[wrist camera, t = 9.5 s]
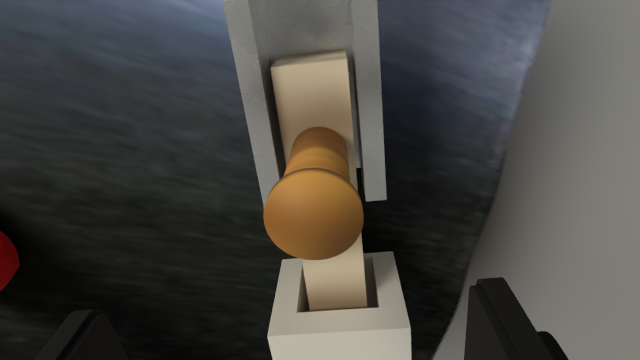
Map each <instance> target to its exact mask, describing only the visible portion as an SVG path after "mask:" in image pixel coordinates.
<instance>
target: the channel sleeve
mask: <svg viewBox="0 0 640 360" xmlns="http://www.w3.org/2000/svg"><path fill="white" fill-rule="evenodd" d="M223 4H224V9H225V14H226V19H227V25H228V30H229V35H230V40H231V45H232V50H233V55H234V60H235V65H236V70H237V75H238V80H239V85H240V90H241V95H242V100H243V105H244V110H245V115H246V120H247V125H248V130H249V135H250V140H251V145H252V150H253V155H254V160H255V165H256V170H257V175H258V180H259V185H260V190H261V195H262V200H263V205H264V208H265V204H266V201H267V198H268V195H269V193H270V191H271V189H272V188H273V186H274V185H275V184H276V183H277V182H278V181H279V180H280V179H281V178H282V177H284V174H285V170H286V161H285V155H284V148H283V142H282V136H281V130H280V124H279V118H278V112H277V106H276V99H275V93H274V87H273V81H272V75H271V69H270V68H271V66H272V65H273V64H274V63H275V62H276V61H277V60H278V59H279V58H280V57H286V56H295V55H304V54H312V53H321V52H330V51H338V50H345V52H346V57H347V65H348V77H349V89H350V101H351V114H352V126H353V138H354V150H355V163H356V168H361V174H362V181H363V187H364V193H365V199H366V201H377V200H387V198H386V176H385V155H384V134H383V113H382V92H381V71H380V49H379V28H378V7H377V0H223Z"/></svg>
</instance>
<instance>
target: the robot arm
mask: <svg viewBox="0 0 640 360" xmlns="http://www.w3.org/2000/svg"><path fill="white" fill-rule="evenodd" d="M34 360H129V359H128V357H127V355H126V353H125V351H124V349H123V347H122V345H121V343H120V341H119V339H118V336H117V334H116V332H115V330H114V328H113V326H112V324H111V322H110V320H109V318H108V317H107V315H105V314H103V313H102V312H101V311H100V310H98V309H91V310H78V311H74V312H72V313H71V314H70V315H69V316H68V317H67V318H66V319H65V321H64V322H63V323H62V325H61V326H60V327H59V328H58V330H57V331H56V332H55V334H54V335H53V336H52V337H51V339H50V340H49V341H48V342H47V344H46V345H45V346H44V348H43V349H42V350H41V351H40V353H39V354H38V355H37V357H36V358H35V359H34ZM464 360H568V358H567V356H566V355H565V353H564V352H563V350H562V349H561V347H560V346H559V344H558V343H557V341H556V340H555V339H554V338H553V336H552V335H551V334H550V333H548V332H545V331H541V332H537V331H536V330H535V328H534V326H533V325H532V323H531V322H530V320H529V318H528V317H527V315H526V313H525V312H524V310H523V308H522V307H521V305H520V303H519V302H518V300H517V299H516V297H515V295H514V294H513V292H512V291H511V289H510V287H509V286H508V284H507V282H506V281H505V279H504V278H502V277H500V278H487V279H478V280H477V283H476V285H475V286H470V289H469V301H468V314H467V327H466V341H465V354H464Z"/></svg>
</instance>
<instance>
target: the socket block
mask: <svg viewBox="0 0 640 360" xmlns="http://www.w3.org/2000/svg"><path fill="white" fill-rule="evenodd" d="M363 261H364V273H365V285H366V297H367V308H362V309H346V310H331V311H315V312H310V308H309V301H308V295H307V289H306V283H305V277H304V271H303V265H302V259H301V258H296V259H283V260H282V264H281V269H280V274H279V279H278V285H277V290H276V295H275V300H274V305H273V310H272V315H271V320H270V325H269V331H268V336H267V337H268V341H269V346H270V350H271V354H272V358H273V360H411V327H410V323H409V318H408V314H407V310H406V306H405V301H404V297H403V293H402V289H401V284H400V280H399V276H398V272H397V267H396V263H395V259H394V255H393V251H390V252H376V253H363Z"/></svg>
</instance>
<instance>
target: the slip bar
mask: <svg viewBox="0 0 640 360" xmlns="http://www.w3.org/2000/svg"><path fill="white" fill-rule="evenodd" d="M270 69H271V75H272V81H273V87H274V93H275V99H276V106H277V112H278V118H279V124H280V130H281V136H282V142H283V148H284V155H285V161H286V170H285V174H284V177H282V178H281V179H280V180H279V181H278V182H277V183H276V184H275V185H274V186H273V188H272V189H271V191H270V193H269V195H268V198H267V201H266V204H265V208H264V224H265V228H266V230H267V233H268V235H269V236H270V238H271V239H272V241H273V242H274V243H275V244H276V245H277V246H278V247H279V248H280V249H282V250H283V251H284V252H286V253H288V254H290V255H292V256H294V257H297V258H301V259H302V265H303V271H304V277H305V283H306V289H307V295H308V301H309V308H310V312H315V311H331V310H346V309H362V308H367V297H366V285H365V273H364V261H363V248H362V236H361V230H362V227H363V221H364V215H363V208H362V202H361V199H360V196H359V194H358V187H357V175H356V163H355V150H354V138H353V126H352V114H351V101H350V89H349V77H348V65H347V57H346V52H345V50H338V51H330V52H321V53H312V54H304V55H295V56H286V57H280V58H279V59H278V60H277V61H276V62H275V63H274V64H273V65H272V66H271V68H270Z"/></svg>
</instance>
